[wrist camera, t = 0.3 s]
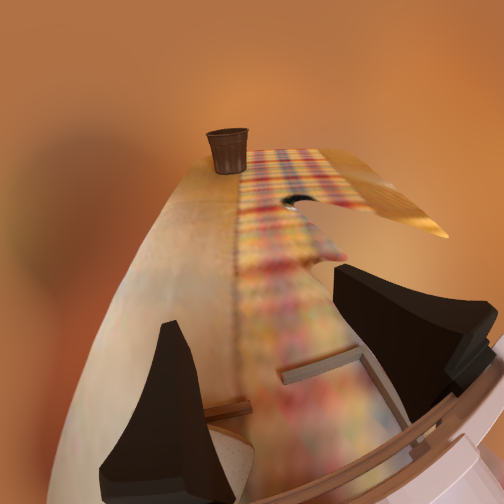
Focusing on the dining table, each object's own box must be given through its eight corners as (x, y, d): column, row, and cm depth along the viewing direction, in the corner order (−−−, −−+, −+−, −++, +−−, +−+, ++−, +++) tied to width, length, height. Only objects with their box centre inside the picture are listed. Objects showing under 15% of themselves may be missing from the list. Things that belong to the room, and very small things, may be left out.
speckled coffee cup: (261, 452, 23) (255, 431, 18) (238, 517, 16) (225, 517, 12) (170, 426, 25) (145, 397, 21) (143, 482, 19) (107, 466, 15)
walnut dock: (290, 520, 15) (290, 520, 15) (150, 536, 13) (144, 536, 12) (250, 405, 28) (249, 400, 27) (135, 422, 25) (130, 418, 24)
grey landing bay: (434, 470, 16) (441, 467, 15) (342, 523, 14) (345, 523, 13) (362, 350, 32) (365, 344, 32) (281, 378, 30) (281, 372, 30)
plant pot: (232, 179, 95) (227, 135, 86) (202, 174, 104) (196, 134, 95) (259, 167, 105) (257, 128, 96) (229, 163, 114) (226, 127, 105)
